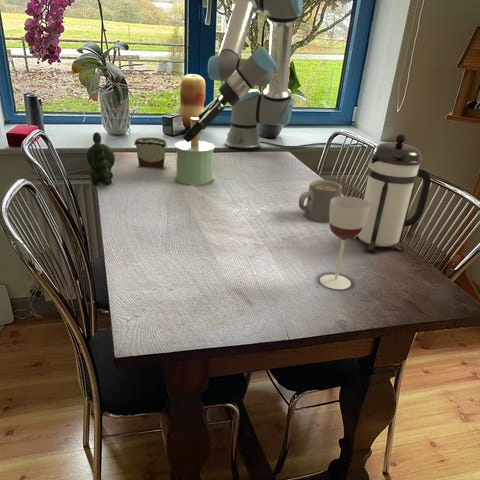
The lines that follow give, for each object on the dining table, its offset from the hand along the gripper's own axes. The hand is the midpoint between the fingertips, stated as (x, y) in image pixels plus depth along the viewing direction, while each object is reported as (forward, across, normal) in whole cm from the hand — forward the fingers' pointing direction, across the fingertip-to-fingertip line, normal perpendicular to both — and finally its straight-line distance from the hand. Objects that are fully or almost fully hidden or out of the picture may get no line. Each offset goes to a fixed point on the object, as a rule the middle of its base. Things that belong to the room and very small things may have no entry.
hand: (186, 136), depth 171 cm
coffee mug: (-19, -31, -41) cm, 55 cm away
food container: (+20, +15, -2) cm, 25 cm away
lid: (0, 0, -5) cm, 5 cm away
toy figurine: (+31, -6, +10) cm, 33 cm away
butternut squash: (+11, +76, -10) cm, 77 cm away
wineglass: (-17, -74, -39) cm, 85 cm away
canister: (+9, 0, -13) cm, 15 cm away
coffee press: (-30, -50, -52) cm, 78 cm away
